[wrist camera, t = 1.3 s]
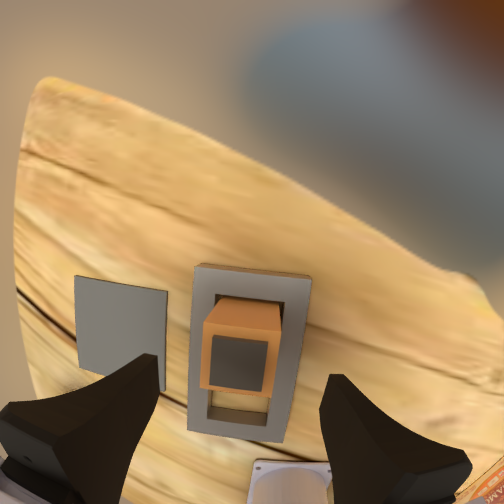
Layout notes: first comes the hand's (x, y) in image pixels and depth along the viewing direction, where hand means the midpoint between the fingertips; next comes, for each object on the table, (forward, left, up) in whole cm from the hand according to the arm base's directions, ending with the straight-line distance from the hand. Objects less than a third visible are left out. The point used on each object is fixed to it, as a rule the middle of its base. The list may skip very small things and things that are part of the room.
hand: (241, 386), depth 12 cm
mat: (-4, +11, -11) cm, 16 cm away
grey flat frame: (-4, 0, -11) cm, 12 cm away
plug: (-1, 0, -11) cm, 11 cm away
